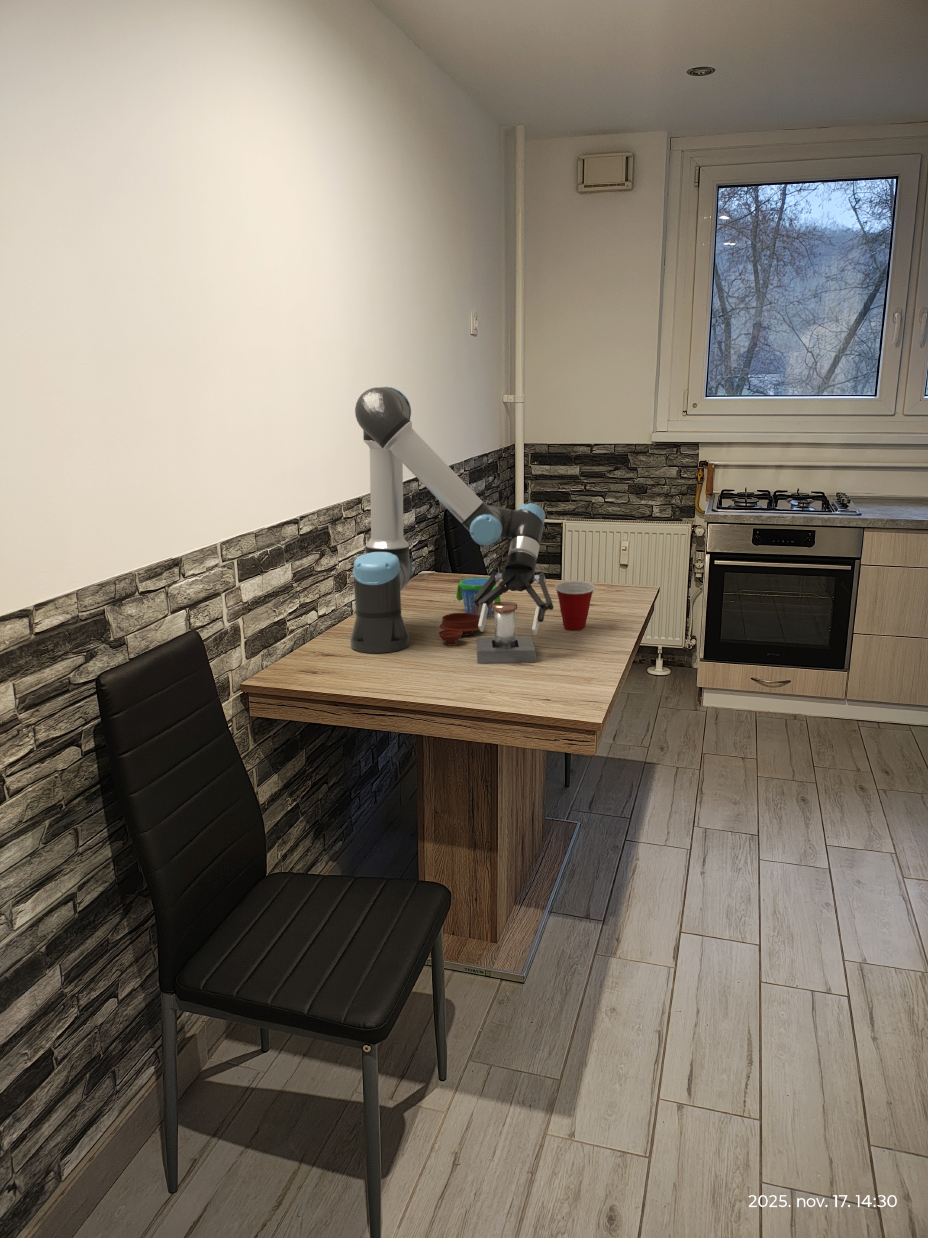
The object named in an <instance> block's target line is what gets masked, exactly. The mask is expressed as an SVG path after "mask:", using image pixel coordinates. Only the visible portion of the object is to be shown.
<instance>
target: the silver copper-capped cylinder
mask: <svg viewBox="0 0 928 1238" xmlns="http://www.w3.org/2000/svg"><path fill="white" fill-rule="evenodd" d="M517 609H518V603H517V602H513V601H501V602H496V603H494V602H493V606H492V611H493V610H494V637H495V648H504V647H515V637H516V610H517Z"/></svg>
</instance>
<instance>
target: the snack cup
mask: <svg viewBox="0 0 928 1238" xmlns="http://www.w3.org/2000/svg"><path fill="white" fill-rule="evenodd" d="M489 578H490V577H471V578H465V579H463V580H460V581H459V583H458V586H457V588H456V599H457V601H463V607H464V613H472V614H476V615H477V612H478V608H479V606H477V605H475V603H474V600H473V598H474V596H475V595H476V594H477V593H478V592H479V590H480V589H481V588H482V587H483V585H484V584H485V583H486V582H487V581H488V579H489ZM496 587H497V584H496V585H495V586H494V587H493V588H492V590H493V589H494V588H496ZM492 590H491V591H492ZM491 591H490V592H491ZM496 602H502V600H501V595H500V596H499V597H498V598H497V599H495V600H494V601H493V602H492V603H490V604H489V605H488V606H487V607H488V613H487V618H488V617H489V616H490V615H492V612H493V603H496Z"/></svg>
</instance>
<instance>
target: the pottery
mask: <svg viewBox="0 0 928 1238" xmlns="http://www.w3.org/2000/svg"><path fill="white" fill-rule="evenodd" d="M441 619H442V623H441V624H439V628H440V629H441V631H438V633H437V634H438V637H440V639H441V640H442V641H443V642H444V645H446V646H456V645H457V642H458V641H459V640H460V639H461V637H462V636H468V635H471V634H473V632H474V631H477V630H480V629H479V627H478V624H479V620H480V618H479V617H478V615H476V614H472V613H465V612H455V613H454V612H453V613H449V614H445V615H443V616H442V618H441Z"/></svg>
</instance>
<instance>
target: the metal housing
mask: <svg viewBox="0 0 928 1238" xmlns="http://www.w3.org/2000/svg"><path fill="white" fill-rule="evenodd" d="M475 639H476V663H477V664H502V663H503V664H504V663H505V664H506V663H508V664H509V663H518V664H519V663H536V647H535V643H534V640H533V636H515V647H504V648H495V636H493V637H491V636H490V637H485V636H484V637H476V638H475Z"/></svg>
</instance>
